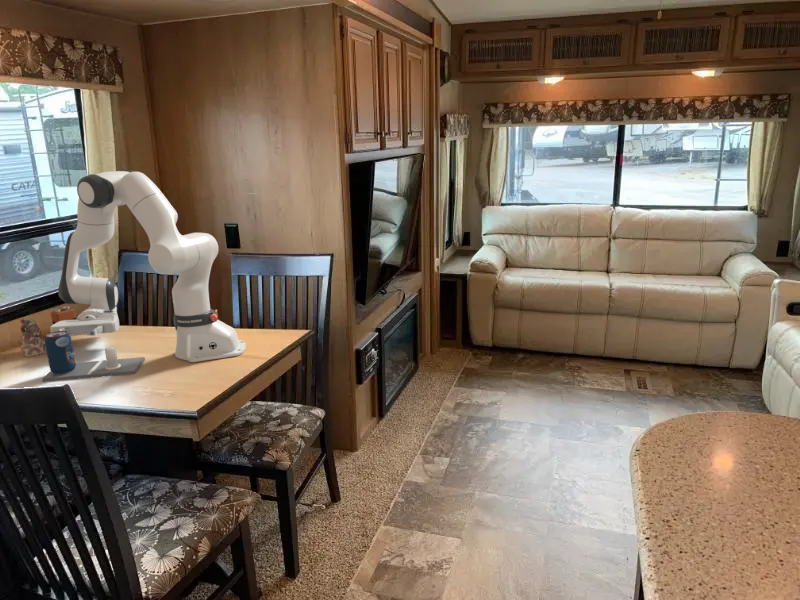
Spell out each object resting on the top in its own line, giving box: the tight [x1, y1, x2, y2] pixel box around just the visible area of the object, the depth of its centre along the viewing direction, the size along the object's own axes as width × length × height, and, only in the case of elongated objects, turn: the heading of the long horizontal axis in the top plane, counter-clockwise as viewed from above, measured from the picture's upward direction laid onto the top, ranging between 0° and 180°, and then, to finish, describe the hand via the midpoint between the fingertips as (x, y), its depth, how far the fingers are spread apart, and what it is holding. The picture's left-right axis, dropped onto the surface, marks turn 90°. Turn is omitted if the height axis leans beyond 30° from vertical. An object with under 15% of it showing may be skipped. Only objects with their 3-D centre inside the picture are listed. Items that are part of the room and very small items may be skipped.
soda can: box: [44, 331, 77, 374], centre depth 178 cm, size 7×7×12 cm
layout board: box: [41, 346, 146, 383], centre depth 181 cm, size 26×12×7 cm, turn 99°
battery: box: [50, 305, 77, 325], centre depth 218 cm, size 4×7×10 cm, turn 148°
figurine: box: [20, 318, 47, 357], centre depth 198 cm, size 7×7×12 cm
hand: (77, 334), depth 188 cm, fingers open, 8 cm apart
